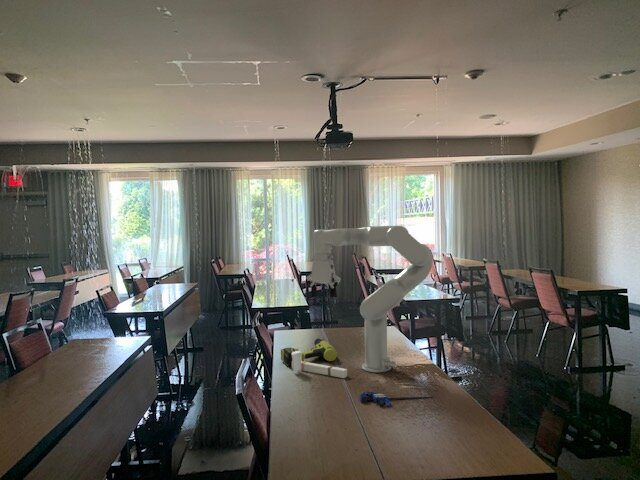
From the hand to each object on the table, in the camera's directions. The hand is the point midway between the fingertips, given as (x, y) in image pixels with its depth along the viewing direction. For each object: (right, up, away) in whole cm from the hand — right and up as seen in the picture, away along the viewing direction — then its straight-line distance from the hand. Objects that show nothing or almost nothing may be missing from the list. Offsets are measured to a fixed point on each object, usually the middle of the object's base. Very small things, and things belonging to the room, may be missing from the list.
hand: (323, 296), depth 194 cm
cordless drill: (-8, -31, +13) cm, 34 cm away
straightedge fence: (-2, -31, -9) cm, 32 cm away
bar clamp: (+28, -32, -41) cm, 59 cm away
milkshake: (-11, -31, -9) cm, 34 cm away
